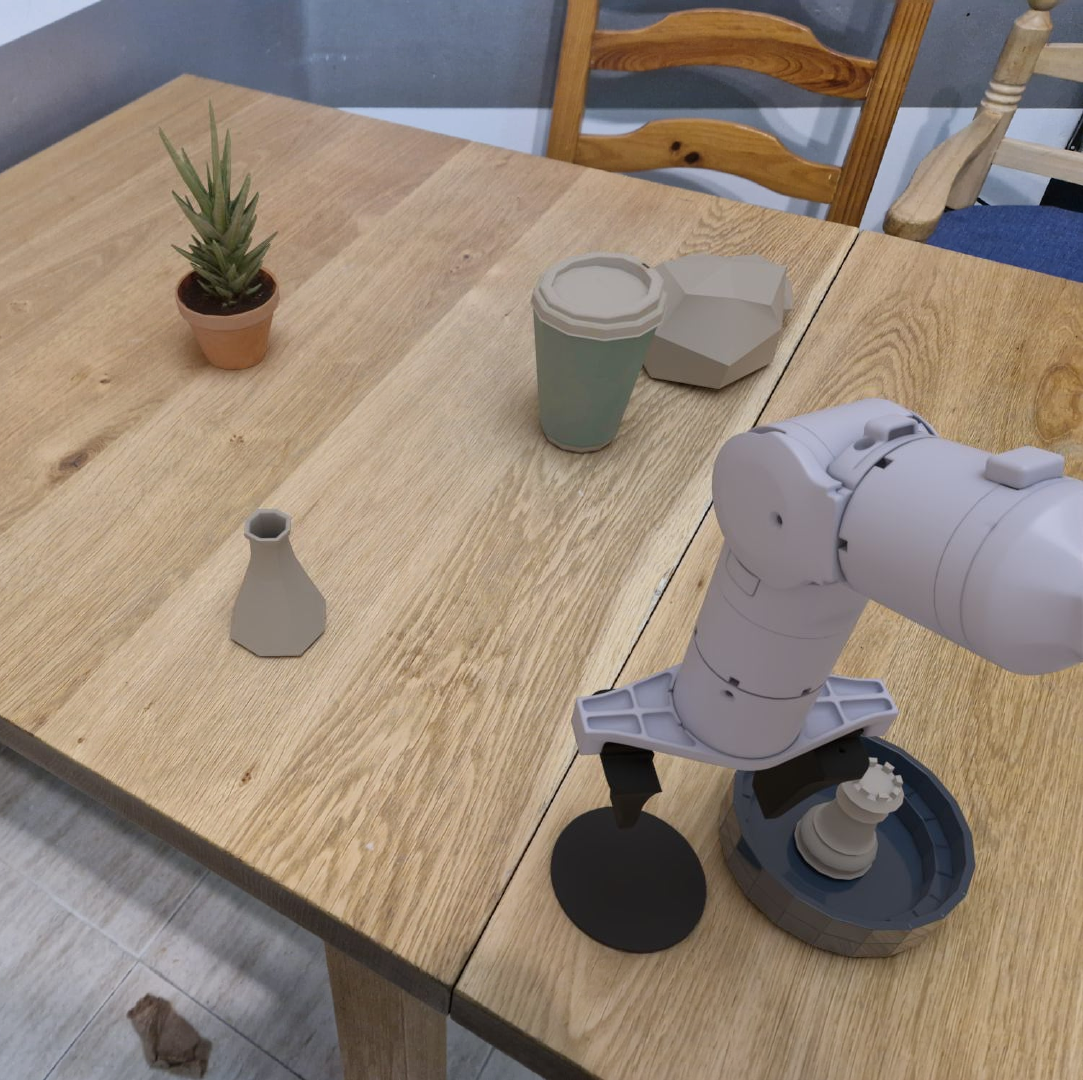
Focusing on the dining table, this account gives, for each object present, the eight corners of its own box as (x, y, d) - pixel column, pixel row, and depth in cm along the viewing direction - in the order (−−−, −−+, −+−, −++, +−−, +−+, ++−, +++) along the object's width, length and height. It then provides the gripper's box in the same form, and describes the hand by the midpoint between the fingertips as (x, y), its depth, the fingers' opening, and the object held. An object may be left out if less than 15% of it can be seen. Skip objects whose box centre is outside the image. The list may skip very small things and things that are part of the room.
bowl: (991, 873, 59) (1021, 840, 56) (856, 1008, 54) (882, 979, 51) (806, 724, 67) (825, 688, 64) (672, 830, 61) (686, 796, 59)
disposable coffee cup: (558, 483, 84) (584, 330, 73) (492, 411, 90) (506, 262, 80) (662, 446, 87) (701, 294, 76) (590, 379, 94) (617, 232, 83)
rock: (575, 307, 102) (589, 219, 95) (750, 276, 106) (776, 189, 99) (661, 414, 90) (684, 322, 83) (855, 374, 93) (893, 283, 87)
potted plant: (180, 383, 94) (133, 121, 76) (191, 326, 101) (150, 72, 83) (287, 381, 94) (264, 118, 76) (290, 323, 101) (270, 70, 83)
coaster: (737, 893, 59) (739, 890, 58) (629, 986, 55) (630, 983, 55) (624, 783, 64) (625, 780, 63) (518, 862, 60) (519, 859, 60)
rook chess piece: (791, 871, 59) (835, 802, 53) (792, 806, 62) (833, 733, 56) (872, 892, 58) (926, 824, 52) (869, 825, 61) (919, 753, 55)
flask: (252, 575, 77) (238, 478, 70) (341, 596, 75) (336, 499, 68) (213, 646, 72) (194, 550, 65) (307, 670, 70) (299, 574, 63)
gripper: (887, 566, 46) (799, 733, 56) (575, 585, 45) (541, 749, 55) (962, 692, 41) (851, 851, 51) (612, 714, 41) (568, 870, 50)
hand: (692, 806), depth 53 cm, fingers open, 7 cm apart
